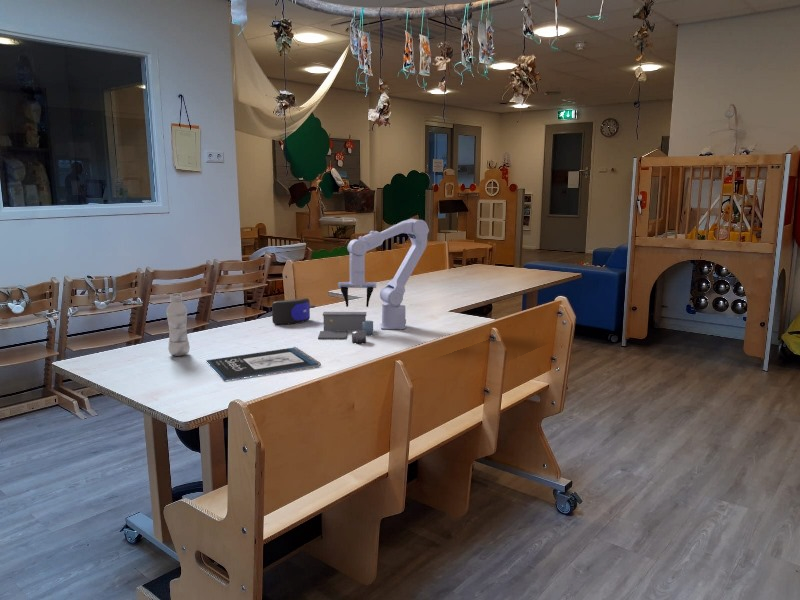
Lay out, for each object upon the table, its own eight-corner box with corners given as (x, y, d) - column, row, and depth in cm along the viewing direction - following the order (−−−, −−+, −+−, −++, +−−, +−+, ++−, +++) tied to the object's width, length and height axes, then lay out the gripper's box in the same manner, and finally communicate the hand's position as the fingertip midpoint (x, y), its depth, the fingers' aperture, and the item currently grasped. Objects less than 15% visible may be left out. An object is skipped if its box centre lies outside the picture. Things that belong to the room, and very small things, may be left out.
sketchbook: (206, 364, 191) (206, 358, 190) (296, 351, 206) (296, 345, 205) (224, 383, 172) (224, 376, 172) (322, 367, 187) (321, 361, 187)
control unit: (366, 328, 237) (366, 311, 236) (366, 331, 232) (366, 314, 231) (323, 328, 237) (323, 311, 235) (322, 331, 232) (322, 314, 230)
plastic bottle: (178, 359, 193) (174, 297, 189) (164, 355, 197) (160, 295, 193) (194, 354, 198) (191, 294, 195) (180, 351, 202) (177, 292, 198)
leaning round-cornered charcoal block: (276, 326, 238) (275, 303, 237) (271, 324, 242) (271, 301, 240) (313, 321, 247) (313, 299, 246) (308, 319, 251) (308, 297, 249)
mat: (346, 332, 230) (346, 331, 230) (345, 339, 220) (345, 337, 220) (320, 332, 230) (320, 330, 229) (317, 339, 220) (317, 337, 220)
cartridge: (373, 333, 229) (373, 320, 228) (373, 336, 225) (373, 322, 225) (362, 333, 229) (362, 320, 228) (362, 335, 225) (362, 322, 224)
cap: (366, 340, 219) (366, 329, 218) (365, 344, 214) (365, 333, 213) (352, 340, 219) (352, 329, 218) (351, 344, 214) (351, 333, 213)
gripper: (376, 269, 234) (376, 304, 236) (338, 269, 234) (339, 304, 236) (376, 272, 227) (376, 308, 229) (337, 272, 227) (337, 307, 229)
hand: (357, 306), depth 232 cm, fingers open, 7 cm apart
